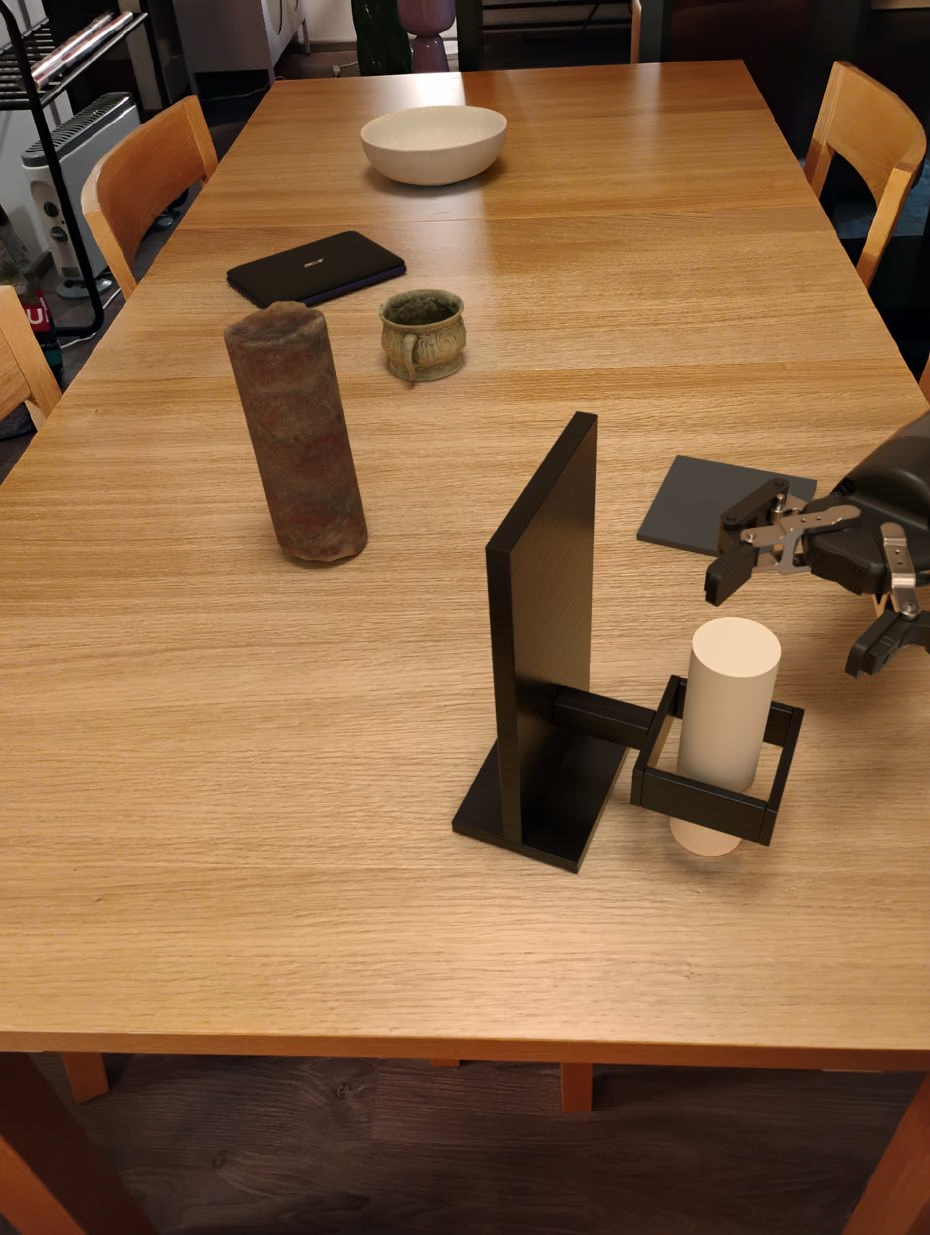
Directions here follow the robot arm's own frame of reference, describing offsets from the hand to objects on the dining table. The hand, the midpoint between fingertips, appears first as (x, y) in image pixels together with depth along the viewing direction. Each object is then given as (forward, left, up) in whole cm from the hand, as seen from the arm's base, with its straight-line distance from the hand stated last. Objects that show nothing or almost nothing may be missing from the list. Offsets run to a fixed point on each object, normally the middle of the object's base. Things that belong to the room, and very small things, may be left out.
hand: (779, 627), depth 53 cm
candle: (+38, -12, -13) cm, 42 cm away
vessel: (+43, -42, -13) cm, 61 cm away
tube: (+2, +4, -13) cm, 14 cm away
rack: (+7, +4, -13) cm, 15 cm away
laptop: (+65, -57, -13) cm, 87 cm away
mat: (+8, -27, -13) cm, 31 cm away
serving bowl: (+66, -93, -13) cm, 114 cm away
